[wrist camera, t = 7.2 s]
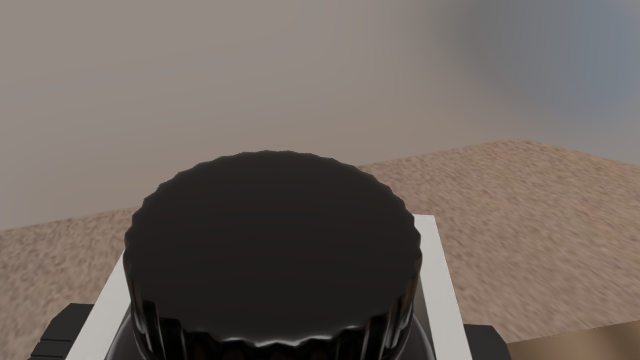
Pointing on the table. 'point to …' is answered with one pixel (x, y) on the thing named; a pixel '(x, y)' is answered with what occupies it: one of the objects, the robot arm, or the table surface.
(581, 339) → the board
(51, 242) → the table surface
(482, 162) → the table surface
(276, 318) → the supplement bottle
